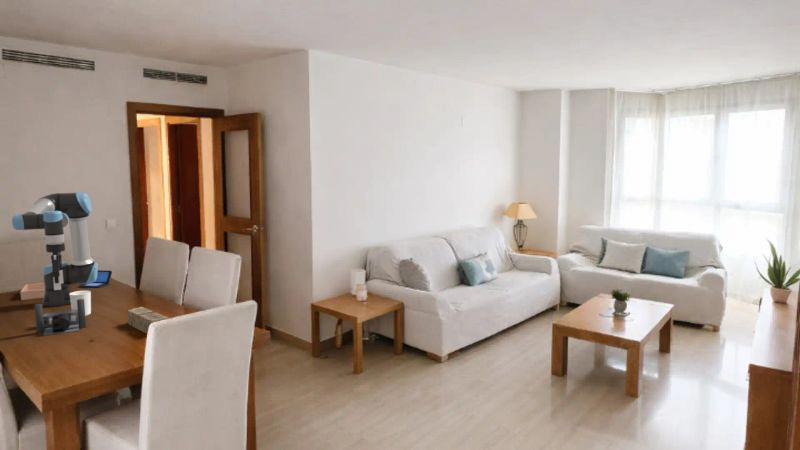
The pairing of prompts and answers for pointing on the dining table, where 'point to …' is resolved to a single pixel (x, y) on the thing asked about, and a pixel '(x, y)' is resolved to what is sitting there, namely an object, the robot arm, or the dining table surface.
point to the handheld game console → (99, 280)
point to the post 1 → (39, 318)
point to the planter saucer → (33, 291)
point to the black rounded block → (60, 323)
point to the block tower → (143, 318)
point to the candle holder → (81, 295)
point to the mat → (71, 329)
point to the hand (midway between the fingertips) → (59, 286)
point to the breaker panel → (72, 314)
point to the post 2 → (81, 313)
